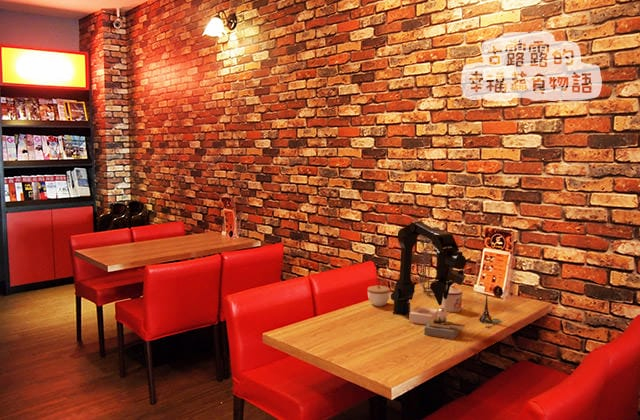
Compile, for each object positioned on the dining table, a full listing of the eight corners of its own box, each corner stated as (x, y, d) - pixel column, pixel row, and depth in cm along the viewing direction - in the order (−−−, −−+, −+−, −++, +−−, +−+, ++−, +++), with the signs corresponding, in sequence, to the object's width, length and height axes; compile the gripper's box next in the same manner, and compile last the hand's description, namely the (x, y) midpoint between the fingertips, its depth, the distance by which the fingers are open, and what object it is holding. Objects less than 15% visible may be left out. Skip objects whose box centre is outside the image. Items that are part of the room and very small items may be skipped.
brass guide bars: (428, 325, 220) (428, 319, 220) (432, 321, 225) (432, 314, 225) (462, 330, 214) (462, 323, 214) (465, 326, 219) (465, 319, 219)
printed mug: (456, 313, 245) (457, 288, 244) (438, 310, 251) (439, 285, 249) (467, 307, 254) (468, 283, 253) (449, 303, 260) (450, 280, 258)
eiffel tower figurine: (488, 329, 226) (489, 298, 224) (467, 324, 233) (467, 294, 231) (506, 321, 236) (507, 291, 234) (484, 316, 243) (485, 287, 241)
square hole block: (409, 322, 234) (409, 313, 234) (415, 315, 243) (415, 306, 243) (432, 325, 230) (432, 316, 229) (437, 318, 239) (438, 309, 238)
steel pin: (437, 333, 220) (437, 309, 219) (439, 330, 223) (439, 307, 222) (445, 334, 219) (445, 310, 218) (446, 332, 222) (447, 308, 220)
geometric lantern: (443, 289, 285) (446, 224, 280) (452, 298, 270) (456, 230, 265) (414, 289, 284) (416, 224, 279) (421, 299, 269) (424, 230, 264)
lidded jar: (365, 306, 257) (365, 287, 256) (370, 300, 267) (370, 281, 266) (387, 308, 254) (387, 289, 252) (391, 302, 264) (392, 283, 262)
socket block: (424, 334, 219) (424, 327, 219) (430, 326, 228) (430, 320, 228) (454, 339, 214) (454, 331, 213) (459, 331, 223) (459, 324, 222)
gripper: (458, 271, 205) (457, 311, 207) (468, 261, 222) (467, 298, 224) (430, 268, 210) (429, 307, 212) (441, 259, 227) (440, 295, 229)
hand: (442, 301), depth 219 cm, fingers open, 9 cm apart
